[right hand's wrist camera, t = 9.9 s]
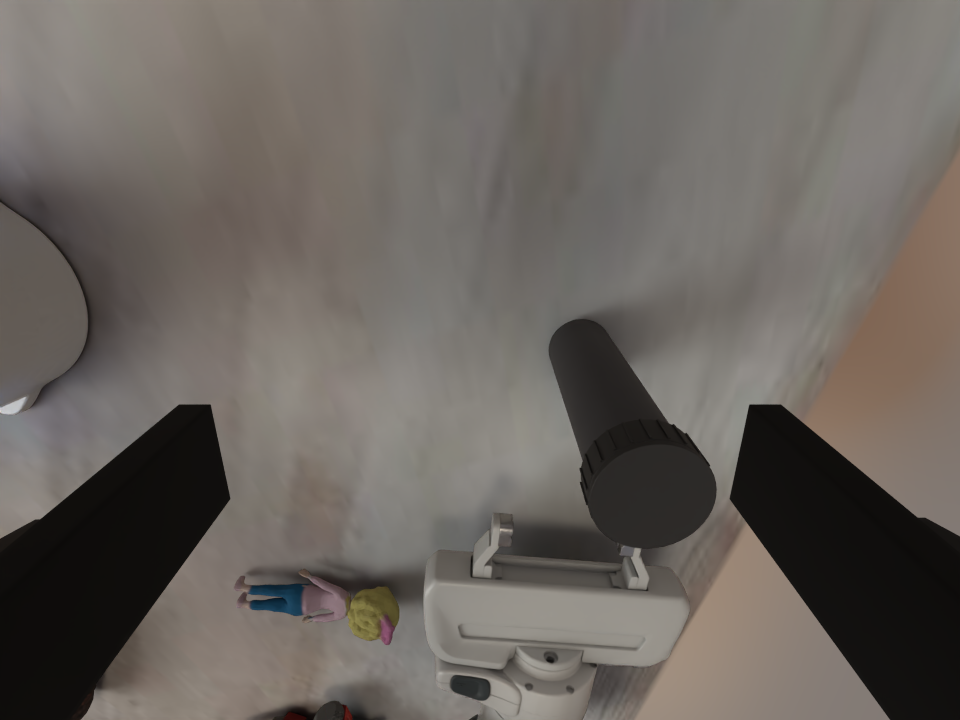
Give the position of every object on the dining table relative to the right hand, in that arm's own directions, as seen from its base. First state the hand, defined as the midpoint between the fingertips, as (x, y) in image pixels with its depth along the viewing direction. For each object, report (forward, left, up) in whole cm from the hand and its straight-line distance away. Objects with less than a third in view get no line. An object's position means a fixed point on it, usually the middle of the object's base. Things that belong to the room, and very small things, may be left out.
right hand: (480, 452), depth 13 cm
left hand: (0, +19, -20) cm, 28 cm away
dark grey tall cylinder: (-5, +9, -26) cm, 28 cm away
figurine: (+24, +25, -26) cm, 43 cm away
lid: (-5, +9, -8) cm, 13 cm away
